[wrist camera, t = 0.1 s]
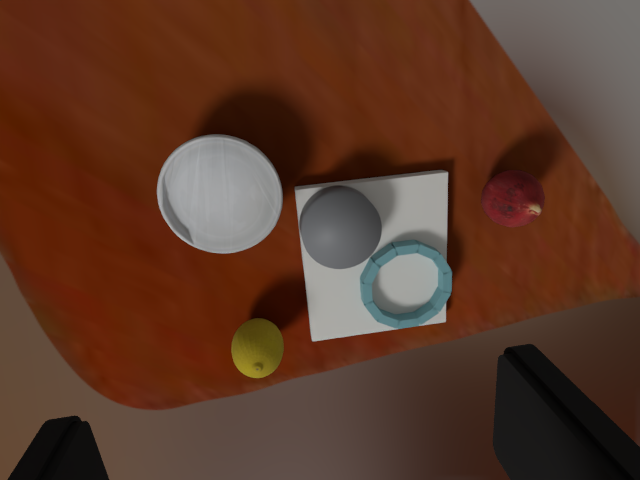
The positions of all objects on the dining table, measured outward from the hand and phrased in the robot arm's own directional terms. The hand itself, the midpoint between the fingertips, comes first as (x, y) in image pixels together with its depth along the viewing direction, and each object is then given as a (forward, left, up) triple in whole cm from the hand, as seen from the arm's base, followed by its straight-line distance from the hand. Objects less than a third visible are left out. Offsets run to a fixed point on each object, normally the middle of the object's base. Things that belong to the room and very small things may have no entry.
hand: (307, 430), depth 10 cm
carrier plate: (+12, +10, -37) cm, 40 cm away
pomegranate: (+6, +24, -37) cm, 44 cm away
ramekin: (+2, -5, -37) cm, 37 cm away
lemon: (+19, -4, -37) cm, 42 cm away
